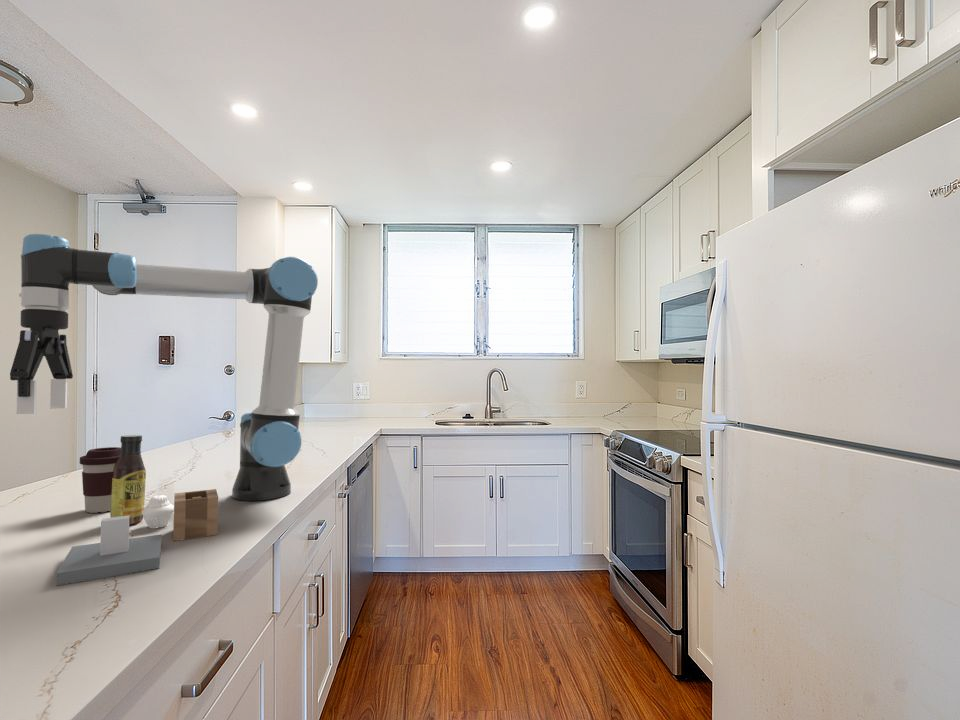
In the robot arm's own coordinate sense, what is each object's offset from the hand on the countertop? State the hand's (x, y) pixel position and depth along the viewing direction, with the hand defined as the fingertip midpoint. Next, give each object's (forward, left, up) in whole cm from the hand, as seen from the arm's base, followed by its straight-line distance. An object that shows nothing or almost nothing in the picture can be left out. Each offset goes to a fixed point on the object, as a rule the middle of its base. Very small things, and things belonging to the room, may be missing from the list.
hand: (43, 411), depth 103 cm
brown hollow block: (-28, +13, -26) cm, 40 cm away
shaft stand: (-15, +25, -26) cm, 39 cm away
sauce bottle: (-15, -2, -26) cm, 30 cm away
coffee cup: (-9, -18, -26) cm, 33 cm away
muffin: (-21, +4, -26) cm, 34 cm away
